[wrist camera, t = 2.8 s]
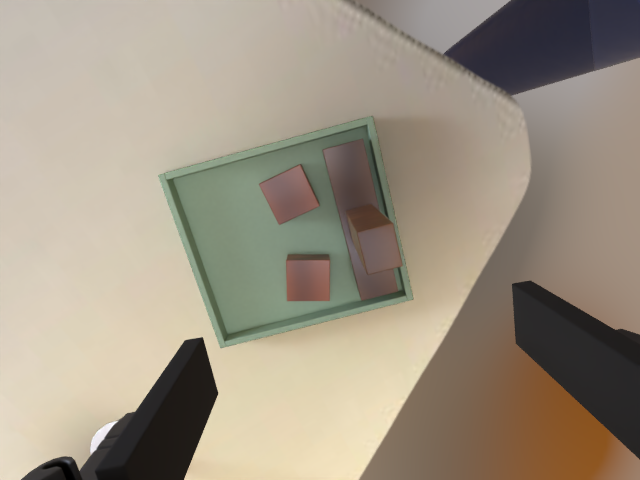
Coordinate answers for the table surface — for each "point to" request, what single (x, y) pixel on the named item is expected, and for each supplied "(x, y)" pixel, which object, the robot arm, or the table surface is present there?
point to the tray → (272, 235)
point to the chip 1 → (289, 194)
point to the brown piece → (363, 220)
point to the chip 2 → (308, 277)
